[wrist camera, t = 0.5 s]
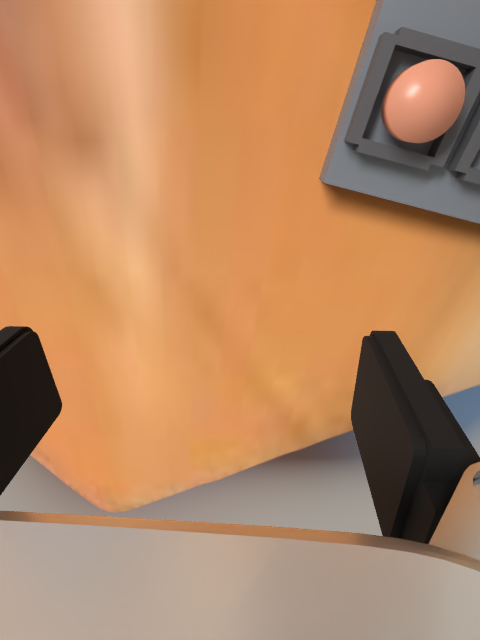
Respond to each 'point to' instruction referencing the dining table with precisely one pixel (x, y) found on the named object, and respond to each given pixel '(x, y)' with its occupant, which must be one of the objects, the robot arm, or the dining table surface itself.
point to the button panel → (399, 156)
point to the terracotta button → (423, 101)
